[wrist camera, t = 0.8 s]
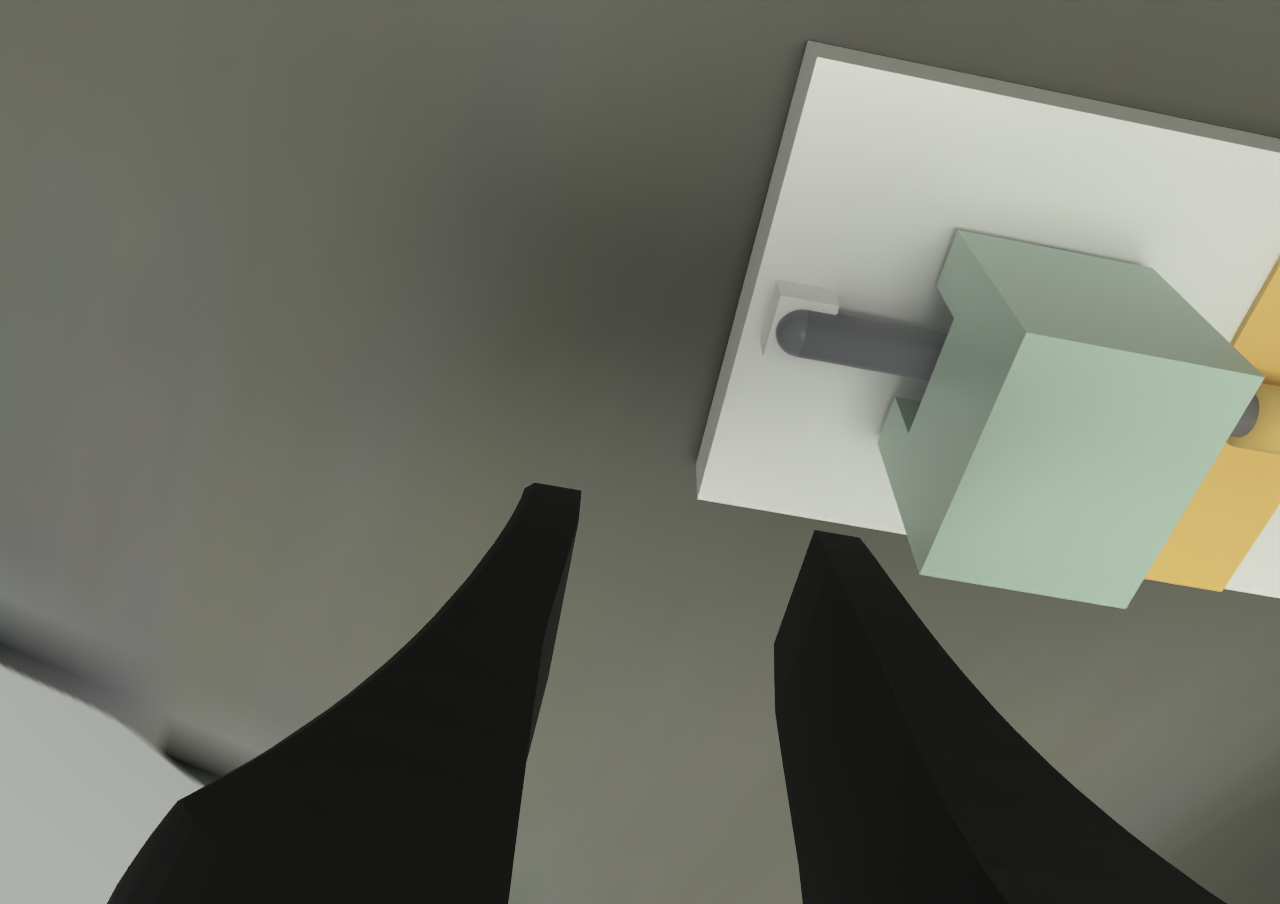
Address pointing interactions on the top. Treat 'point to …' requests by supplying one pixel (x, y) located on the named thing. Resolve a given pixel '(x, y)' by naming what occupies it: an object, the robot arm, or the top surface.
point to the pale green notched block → (1059, 422)
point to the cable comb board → (917, 251)
